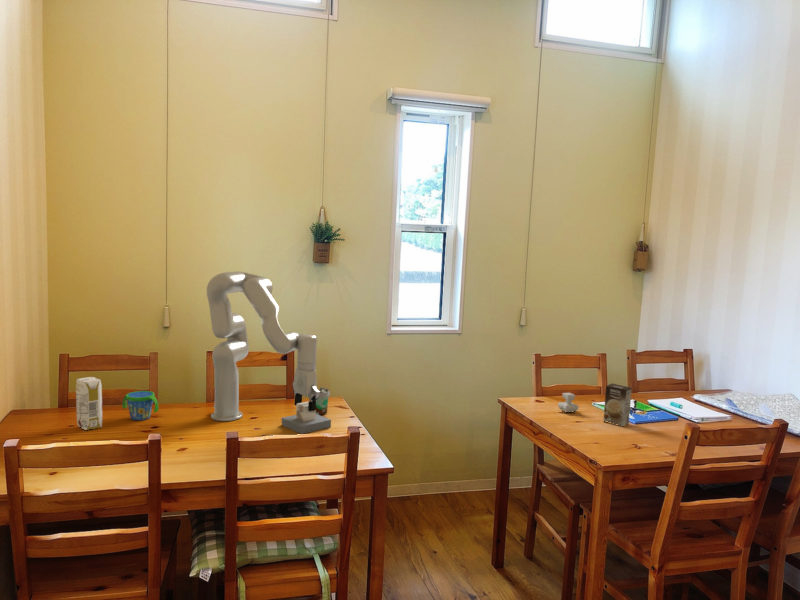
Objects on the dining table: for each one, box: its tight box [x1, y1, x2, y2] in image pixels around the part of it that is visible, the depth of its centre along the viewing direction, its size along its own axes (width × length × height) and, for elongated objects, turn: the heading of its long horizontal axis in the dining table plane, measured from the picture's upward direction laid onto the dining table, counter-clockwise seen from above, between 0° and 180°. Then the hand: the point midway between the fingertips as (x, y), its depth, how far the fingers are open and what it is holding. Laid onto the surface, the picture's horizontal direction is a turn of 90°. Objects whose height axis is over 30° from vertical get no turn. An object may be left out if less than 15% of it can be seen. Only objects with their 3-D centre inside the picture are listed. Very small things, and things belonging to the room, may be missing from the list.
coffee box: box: [603, 383, 632, 427], centre depth 254 cm, size 9×6×16 cm
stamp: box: [557, 392, 580, 413], centre depth 269 cm, size 9×7×8 cm
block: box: [295, 401, 316, 422], centre depth 237 cm, size 6×6×6 cm
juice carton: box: [75, 376, 103, 431], centre depth 228 cm, size 8×9×19 cm
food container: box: [311, 386, 331, 416], centre depth 255 cm, size 12×6×10 cm, turn 168°
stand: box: [281, 414, 332, 435], centre depth 238 cm, size 14×14×3 cm
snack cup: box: [121, 390, 160, 421], centre depth 241 cm, size 16×10×10 cm
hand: (304, 407), depth 237 cm, fingers open, 9 cm apart
